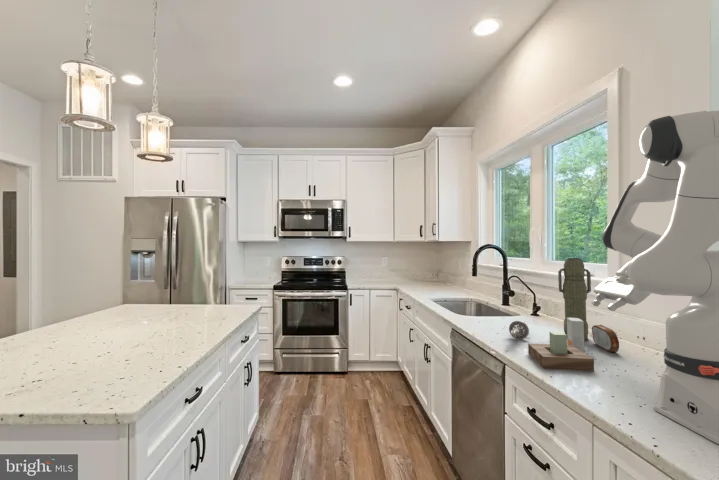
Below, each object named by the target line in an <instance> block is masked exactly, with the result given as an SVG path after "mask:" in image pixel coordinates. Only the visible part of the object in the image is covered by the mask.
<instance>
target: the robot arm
mask: <svg viewBox="0 0 719 480" xmlns="http://www.w3.org/2000/svg"><path fill="white" fill-rule="evenodd" d="M639 148H640V153H641V155H642V156H643V157H645V158H646V159H648V160H647V163H646V167H645V170H644V173H643V174H642V176H641V178H640V179H636V180H633V181H632V182H631V183H630V184H629V185H628V186H627V188H625V190H624V192H623V194H622V196H621V198H620V200H619V202H618V204H617V206H616V208H615V210H614V212H613V215H612V218H611V219H610V221H609V223H608V224H607V226H606V227H605V229H603V232H602V234H601V238H602V239H601V240H602V242H603V244H604V247H605V248H607V249H610V250H614V251H616V252H619V253H622V254H623V255H626V256H627V257H630V258H632V259H631V260H630V261H627V262H626V263H625V264H624V265H622V266H621V267H620V269H618V270H617V271H616V272H615V276H613V277H612V276H611V277H610V276H609V277H606V278H605V279H604V280H602V281H601V282H600V283H598V285H596V286H595V287H594V288H593V292H594V293H595V294H596V295H595V296H594V299H593V300H591V305H593V306H594V307H599V306H600V305H601V302H602V301H603V300H605V299H607V300H610V301H611V300H612V301H613V302H612V303H609V305H607V306H606V307H607V310H609V311H610V312H611V311H612V312H615V311H616V310H617V309H619V308H622V307H623V306H625V305H626V304H629V305H633V306H635V305H638V304H640V303H642V302H643V301H644V300H646V299H647V298H648V297H649V296H650V295H651V294H655V295H660V296H672V297H673V296H674V297H675V296H676V297H677V296H678V297H679V296H680V297H681V296H682V297H691V300H690V301H689V303H688V304H687V305H686V306H685V307H684V308H682V309H680V310H677V311H675V312H673V313H671V314H669V316H668V317H667V318H666V321H665V345H666V346H665V348H664V351H663V358H664V359H663V360H664V361H663V362H664V364H665V366H666V367H665V368H664V371H663V373H662V374H661V375H660V380H659V381H660V382H659V394H658V402H657V403H655V404H654V406H653V410H655V412H658V413H659V414H660V415H663V416H664V417H667V418H669V419H671V420H673V421H674V422H677V423H678V424H680V425H682V426H684V427H686V428H687V429H689V430H691V431H693V432H694V433H696V434H698V435H700V436H703V437H704V438H706V439H707V440H709V441H711V442H713V443H715V444H717V445H719V250H709V249H710V247H712V246H713V245H714V244H716V243H717V242H719V110H711V111H710V110H709V111H707V110H702V111H700V110H699V111H693V112H688V113H682V114H677V115H672V116H671V115H666V116H662V117H661V116H660V117H658V118H654V119H652V120H650V121H649V122H648V123H647V124H646V125H645V126H644V128H643V130H642V132H641V134H640V138H639ZM670 201H671V202H672V201H674V204H673V209H672V212H671V216H670V220H669V223H668V226H667V227H666V229H665V231H664V233H663V234H662V235H661V234H659V233H656V232H654V231H650V230H647V229H645V228H642V227H639V226H637V225H635V224H634V223H633V222H632V219H633V217H634V215H635V214H636V212H637V209H638V207H639V205H640V204H641V203H667V202H670Z"/></svg>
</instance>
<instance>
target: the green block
mask: <svg viewBox="0 0 719 480" xmlns="http://www.w3.org/2000/svg"><path fill="white" fill-rule="evenodd" d="M549 344H550V352H551V353H555V354H567V345H568V339H567V335H566V334H565V332H564V331H563V332H562V331H549Z"/></svg>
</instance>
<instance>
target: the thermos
mask: <svg viewBox="0 0 719 480" xmlns="http://www.w3.org/2000/svg"><path fill="white" fill-rule="evenodd" d="M562 272H563V276H564V279H562ZM585 273H586V279H585ZM557 274H558V291H559V293H562V298H563V299H564V319H563V320H564V321H563V333H564V334H566V335H567V318H579V319H581V320H582V321H583V322H584V342H586V341H589V337H588V336H589V324H588V322H587V299H588V294H590V293H591V292H592V287H591V286H592V284H591V283H592V281H591V279H592V278H591V272H590V271H589V270H588V269H586V268H585V263H584V261H583V259H581V258H578V257H567V258H565V260H564V264H563V268H559V270H558V271H557ZM562 280H563V281H564V282H562ZM585 280H586V281H585ZM562 283H563V284H562ZM567 340H568V338H567Z"/></svg>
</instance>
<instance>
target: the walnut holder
mask: <svg viewBox="0 0 719 480" xmlns="http://www.w3.org/2000/svg"><path fill="white" fill-rule="evenodd" d="M527 348H528V351H527V352H528V356H529V357H530V358H532V359H533V360H534V361H535V362H536V363H537V364H538V365H539V367H541V369H543V370H544V369H545V370H555V371H556V370H558V371H560V370H561V371H579V372H580V371H581V372H582V371H583V372H595V359H594V358H593V357H591V356H590V355H589V354H587V353H584V352H582V351H581V350H579V349H577V348H576V347H574V346H573V345H568V344H567V354H555V353H551V352H550V343H527Z"/></svg>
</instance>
